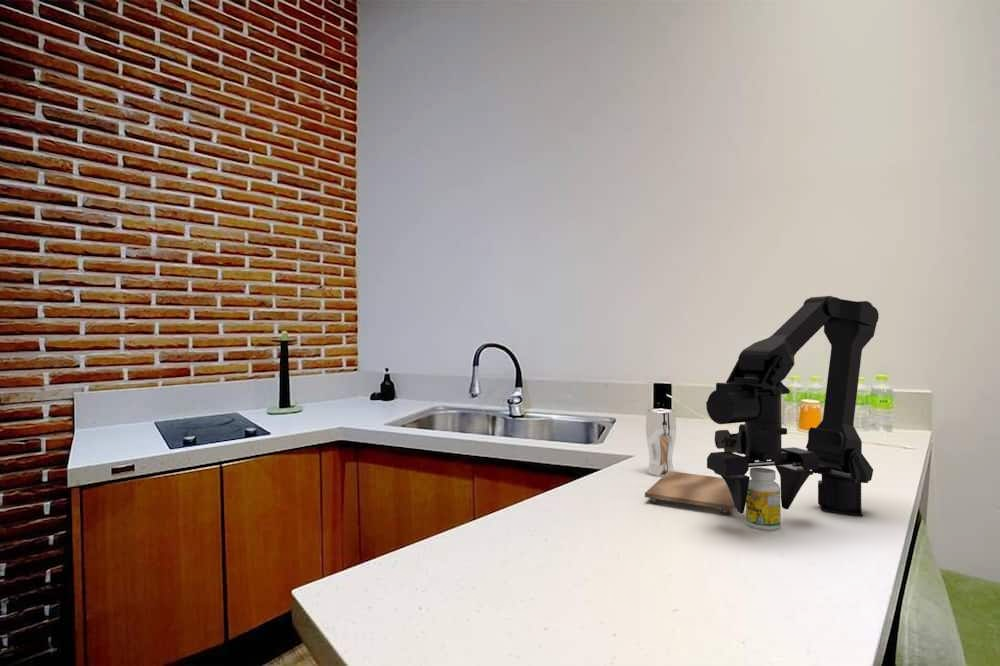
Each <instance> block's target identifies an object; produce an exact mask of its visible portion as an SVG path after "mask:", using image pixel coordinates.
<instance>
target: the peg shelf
mask: <svg viewBox="0 0 1000 666" xmlns="http://www.w3.org/2000/svg"><path fill="white" fill-rule="evenodd" d="M644 497H645V498H647V499H648V498H649V504H654V505H655V504H656V505H659V504H660V500H662V501H668V502H675V503H676V502H677V503H682V504H687V505H696V506H703V507H707V508H708V507H709V508H715V509H719V510H720V511H719V512H720V514H721V515H724V516H730V515H731V513H732V511H734V509H736V507H735V504H734V501H733V499H732V496H731V493H730V490H729V488H728V486H727V484H726V482H725V480H724V479H723V478H722V477H721V476H720V477H719V476H712V475H711V476H710V475H704V474H697V473H696V474H695V473H687V472H679V471H674V472H673V471H668V472H667V473H666V474H665V475H664V476H661V477H660V478H659V479H658V480H657V481H656V482H655V483H653V485H652V486H651V487H649V488H648V489H647V490H646V491H645V492H644Z"/></svg>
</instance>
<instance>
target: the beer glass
mask: <svg viewBox="0 0 1000 666" xmlns="http://www.w3.org/2000/svg"><path fill="white" fill-rule="evenodd" d="M645 436H646V442H647V449H648V456H649V458H648V459H649V460H648V461H649V462H648V467H647V473H648V474H649V475H651V476H656V477H663V476H664V475H665V474H666V473H667V472H668V471H673V472H675V470H674V469H675V468H674V465H673V464H674V463H673V456H674V455H673V454H674V449H675V443H676V437H677V419H676V410H674V409H668V408H648V409H646V416H645Z"/></svg>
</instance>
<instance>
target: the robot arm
mask: <svg viewBox="0 0 1000 666" xmlns="http://www.w3.org/2000/svg"><path fill="white" fill-rule="evenodd" d="M879 318H880V317H879V311H878V308H876V306H874V305H873V304H872V303H871V302H870V301H868V300H862V301H861V300H859V301H856V300H855V301H854V300H850V299H849V300H848V299H843V298H839V297H836V296H832V295H828V296H826V295H824V296H823V295H822V296H811V297H809V298H807V299H806V300H805V301H804V302H803V304H802V306H801V307H800V308H799V309H798V310H797V311H796V312H795V313H793V315H792V316H790V317H789V318H788V319H787V320H786V321H785V322H784V323H783V324H782V325H781V326H780V327H779V328H778V329H777V330H776V331H775V332H773V334H772V335H771V336H769V337H767V338H764V339H760V340H759V341H756V342H754V343H752V344H751V345H748V346H747V347H746V348H743V350H742V351H741V352H740V353H739V355H738V359H737V361H736V364H735V365H734V367H733V368H732V370H731V373H730V374H729V376H728V377H727V379H726V381H725V382H716V383H715V390H713V391H712V392H711V393H710V394H709V396H708V397H707V401H706V402H705V403H706V411H707V415H708V416H709V418H710V419H711V420H712V422H714V423H715V424H718V425H728V424H738V423H741V424H739V426H738V432H736V433H731V432H730V431H729V430H728V429H718V430H715V431H714V445H715V447H716V449H717V450H720V449H723V451H717V452H716V451H715V452H712V451H711V452H710V453H709V455H708V456H707V458H706V469H708V470H711V471H713V472H714V474H716V475H719V476H720V478H723V479H724V480H725V482H726V484H727V486H728V488H729V490H730V493H731V496H732V499H733V501H734V504H735V509H736V512H737V513H739V514H741V515H742V514H744V513H745V510H746V499H747V492H748V486H749V480H751V479H750V478H751V477H750V475H749V476H748V475H746V474H747V473H748V471H750V468H755V467H757V468H763V467H775V468H776V470H777V472H778V474H779V476H780V477H779V479H780V482H779V483H780V505H781V508H782V509H784V510H789V509H790V507H791V506H792V503H793V502H794V501H795V498H796V496H797V495H798V494H799V491H800V490H801V488H802V487H803V485H805V484H804V483H806V481H807V480H808V478H809V477H810V476H811V475H814V474H819V475H821V480H820V479H819V480H817V504H818V505H819V506H820V511H824V512H829V513H836V514H844V515H852V516H857V517H862V516H863V517H864V514H863V510H862V484H868V483H869V482H871V481H872V478H873V473H874V468H873V467H872V466H871V463H869V461H868V460H867V458H866V457H865V456H864V454H863V452H862V450H863V449H862V443H863V442H862V439H861V437H860V436H859V433H858V432H857V431H858V430H856V427H855V426H854V422H855V412H856V405H857V397H858V396H857V395H858V390H859V389H858V386H859V380H860V369H861V363H862V351H863V349H864V348H865V347H866V346H867V344H868V343H870V341H871V340H872V339H873V338H874V335H875V332H876V328H877V324H878V321H879ZM822 328H823V332H824V335H825V337H826V338H827V340H828V342H829V343H830V347H831V348H830V356H829V362H828V363H829V364H828V365H829V366H828V372H827V373H828V374H827V378H826V379H827V380H826V389H825V390H826V391H825V397H824V406H823V414H822V420H821V421H820V422H819V424H818V425H817V426H816V427H810V428H809V429H808V430H807V431H808V432H807V433H808V434H807V435H808V437H807V444H806V445H805V449H802V448H799V447H794V446H793V447H782V435H785V436H786V435H788V428H786V427H782V395H788V394H791V393H790V389H789V388H788V387H787V386H785V385H784V383H783V382H782V381H784V380H785V379H786V377H787V376H788V374H789V373H790V372H791V370H792V369H793V367H794V366H795V356H796V354H797V353H798V352H799V351H800V350H801V349H802V348H803V347H804V346H805V345H806V344H807V343H808V342H809V341H810V340H811V339H812V338H813V337H814V336H815V335H816V334H817V333H818V332H819V331H820V329H822ZM806 449H807V450H806ZM743 455H744V456H743Z"/></svg>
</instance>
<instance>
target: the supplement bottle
mask: <svg viewBox="0 0 1000 666" xmlns="http://www.w3.org/2000/svg"><path fill="white" fill-rule="evenodd" d="M749 477H750V478H751V479H749V486H748V492H747V499H746V505H745V513H746V514H745V519H746V521H745V522H746V524H747V525H748V526H749V527H751V528H754V529H757V530H763V531H777V530H779V529H780V528H781V522H782V521H781V520H782V517H781V485H779V484H778V482H776V481H775V480H776V478H777V477H776V471H775V470H774V469H772V468H768V467H767V468H766V467H749Z"/></svg>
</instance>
